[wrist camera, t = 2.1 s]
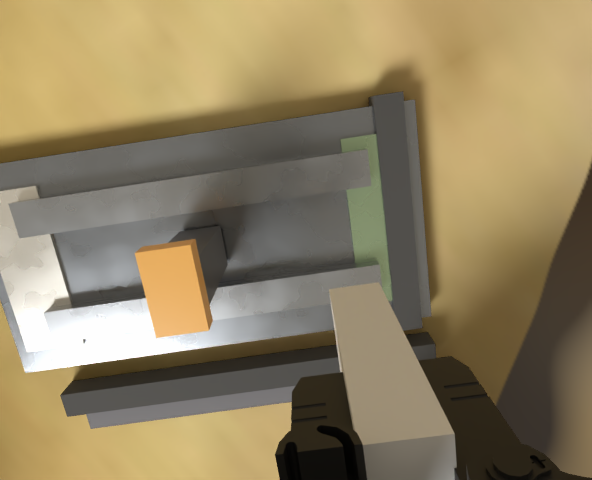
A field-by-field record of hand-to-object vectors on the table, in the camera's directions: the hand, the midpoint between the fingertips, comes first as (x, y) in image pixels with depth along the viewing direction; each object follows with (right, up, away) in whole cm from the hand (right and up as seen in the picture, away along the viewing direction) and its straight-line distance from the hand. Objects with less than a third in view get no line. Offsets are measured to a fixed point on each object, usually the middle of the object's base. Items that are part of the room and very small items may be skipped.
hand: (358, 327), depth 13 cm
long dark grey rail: (-5, -6, +16) cm, 18 cm away
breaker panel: (-7, +3, +14) cm, 16 cm away
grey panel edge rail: (+4, +4, +14) cm, 15 cm away
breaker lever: (-7, +2, +13) cm, 15 cm away
